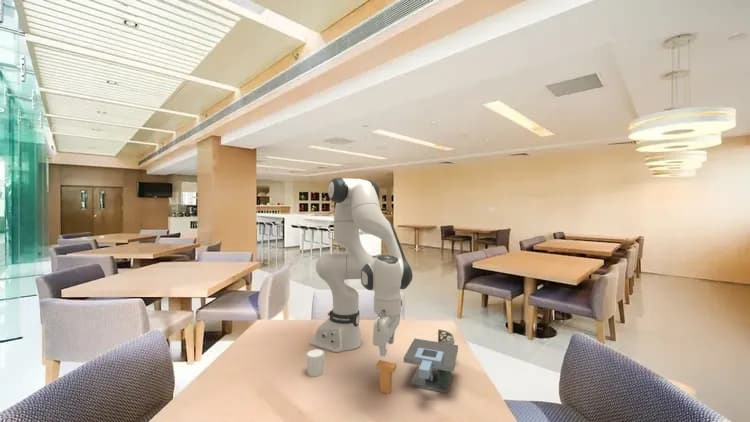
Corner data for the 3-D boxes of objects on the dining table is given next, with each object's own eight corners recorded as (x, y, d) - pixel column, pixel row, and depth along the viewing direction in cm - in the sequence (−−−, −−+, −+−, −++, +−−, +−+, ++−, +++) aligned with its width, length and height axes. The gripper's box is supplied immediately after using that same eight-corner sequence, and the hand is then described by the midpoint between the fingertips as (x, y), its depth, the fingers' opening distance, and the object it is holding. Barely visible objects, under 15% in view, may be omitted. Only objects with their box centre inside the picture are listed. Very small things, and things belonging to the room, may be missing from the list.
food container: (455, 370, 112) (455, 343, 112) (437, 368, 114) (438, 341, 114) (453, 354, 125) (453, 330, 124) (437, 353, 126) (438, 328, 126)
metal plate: (403, 387, 101) (403, 357, 101) (414, 364, 116) (414, 338, 116) (453, 398, 96) (453, 366, 96) (457, 372, 111) (458, 345, 111)
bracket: (409, 375, 93) (409, 365, 93) (418, 356, 105) (418, 347, 105) (437, 381, 90) (437, 370, 90) (443, 360, 102) (443, 351, 102)
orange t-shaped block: (375, 390, 100) (376, 364, 100) (378, 385, 103) (379, 360, 102) (393, 394, 98) (393, 367, 98) (396, 389, 101) (396, 363, 100)
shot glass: (328, 369, 112) (328, 350, 112) (319, 379, 106) (319, 358, 106) (311, 365, 115) (312, 347, 115) (301, 375, 108) (301, 355, 108)
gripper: (388, 317, 89) (388, 365, 89) (403, 299, 108) (403, 338, 108) (368, 315, 91) (367, 362, 91) (386, 297, 110) (385, 336, 110)
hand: (387, 349), depth 100 cm, fingers open, 8 cm apart
